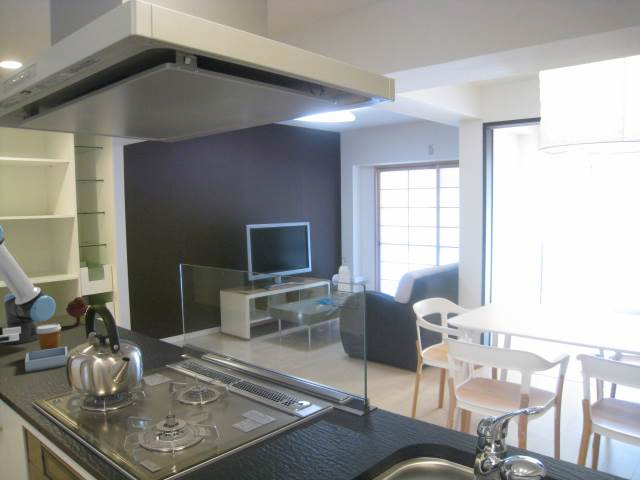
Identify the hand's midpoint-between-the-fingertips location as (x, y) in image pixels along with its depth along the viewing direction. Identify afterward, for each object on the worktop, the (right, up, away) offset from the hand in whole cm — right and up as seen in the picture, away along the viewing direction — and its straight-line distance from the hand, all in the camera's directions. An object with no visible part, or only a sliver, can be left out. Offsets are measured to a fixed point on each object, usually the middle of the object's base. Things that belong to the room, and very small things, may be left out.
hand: (20, 333), depth 208 cm
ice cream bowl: (-3, -7, +58) cm, 58 cm away
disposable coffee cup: (+10, -10, +6) cm, 15 cm away
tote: (+16, -11, -8) cm, 21 cm away
